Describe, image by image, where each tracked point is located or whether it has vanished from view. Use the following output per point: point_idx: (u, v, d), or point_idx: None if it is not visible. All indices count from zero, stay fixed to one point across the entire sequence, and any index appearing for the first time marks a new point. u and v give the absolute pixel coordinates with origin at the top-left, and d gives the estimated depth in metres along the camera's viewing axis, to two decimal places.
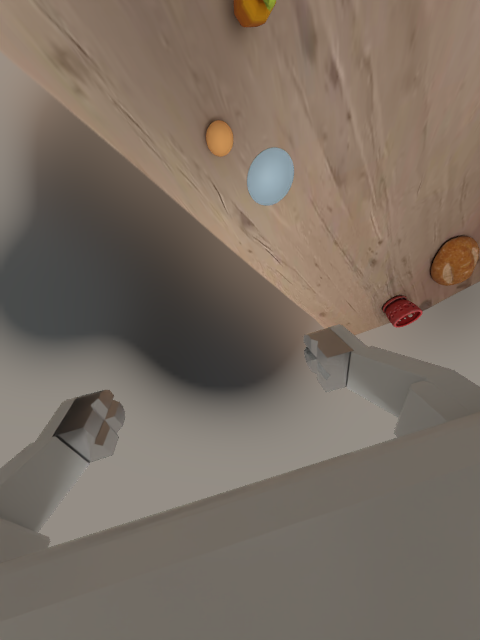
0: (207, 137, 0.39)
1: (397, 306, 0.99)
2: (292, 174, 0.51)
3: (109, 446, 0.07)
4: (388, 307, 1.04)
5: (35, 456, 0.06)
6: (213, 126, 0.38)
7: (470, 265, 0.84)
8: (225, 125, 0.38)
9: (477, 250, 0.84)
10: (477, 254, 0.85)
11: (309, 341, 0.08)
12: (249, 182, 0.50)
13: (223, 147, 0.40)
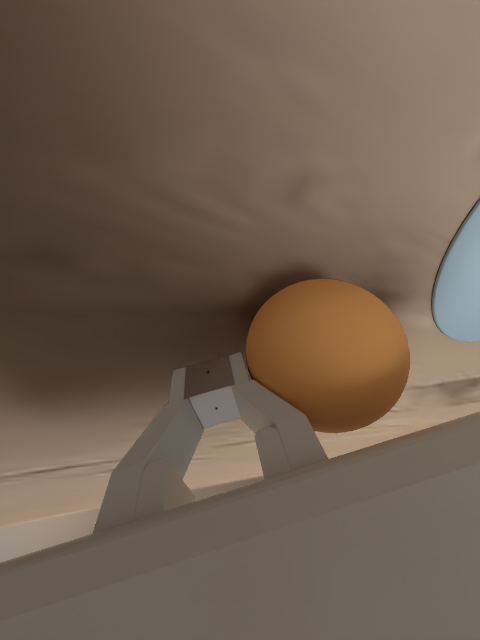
0: None
1: None
2: None
3: None
4: None
5: (177, 414, 0.06)
6: (289, 380, 0.06)
7: None
8: (343, 317, 0.05)
9: None
10: None
11: (206, 370, 0.08)
12: (447, 321, 0.12)
13: (394, 403, 0.06)
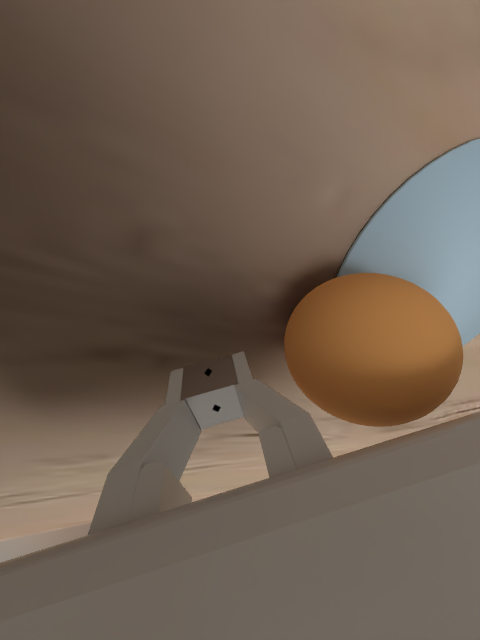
0: None
1: None
2: None
3: None
4: None
5: (174, 415, 0.06)
6: None
7: None
8: None
9: None
10: None
11: (209, 369, 0.08)
12: None
13: None
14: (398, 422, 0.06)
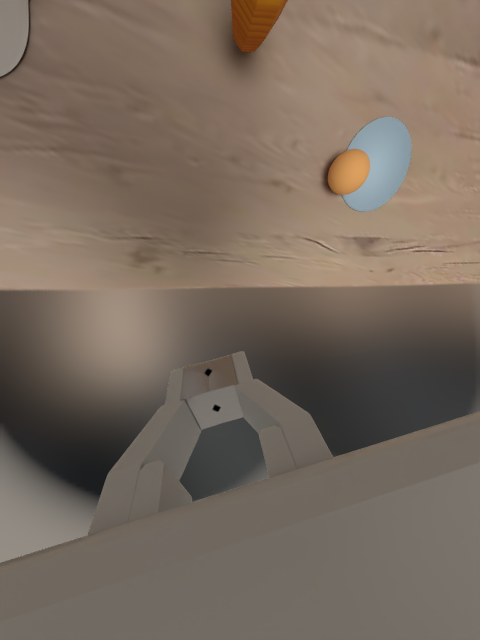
0: None
1: None
2: (404, 133, 0.31)
3: None
4: None
5: (174, 415, 0.06)
6: None
7: None
8: None
9: None
10: None
11: (209, 369, 0.08)
12: (347, 198, 0.34)
13: None
14: (356, 177, 0.28)
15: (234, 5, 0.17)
